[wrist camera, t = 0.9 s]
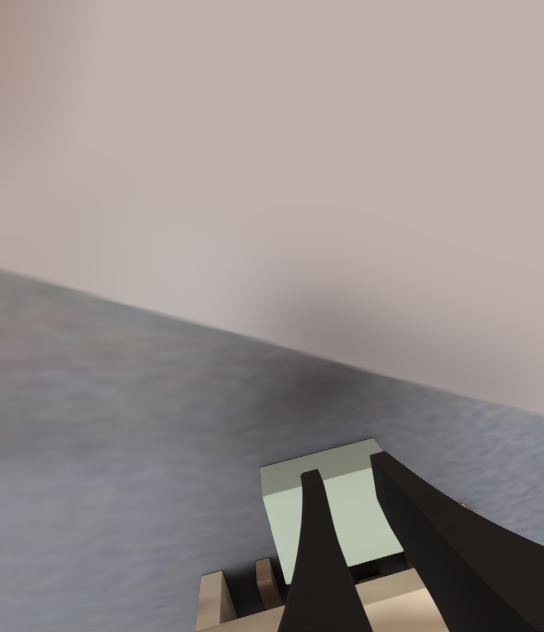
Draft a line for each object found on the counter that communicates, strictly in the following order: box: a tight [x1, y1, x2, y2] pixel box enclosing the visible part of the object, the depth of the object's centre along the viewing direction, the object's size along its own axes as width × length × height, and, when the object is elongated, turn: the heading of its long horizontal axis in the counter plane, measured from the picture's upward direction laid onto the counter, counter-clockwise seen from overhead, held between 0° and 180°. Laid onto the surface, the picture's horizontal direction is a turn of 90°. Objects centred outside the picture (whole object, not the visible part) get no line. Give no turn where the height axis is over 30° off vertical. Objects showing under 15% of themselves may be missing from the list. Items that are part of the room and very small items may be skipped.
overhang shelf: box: [195, 504, 468, 632], centre depth 22 cm, size 6×20×4 cm, turn 102°
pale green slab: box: [260, 438, 403, 584], centre depth 21 cm, size 7×8×2 cm
